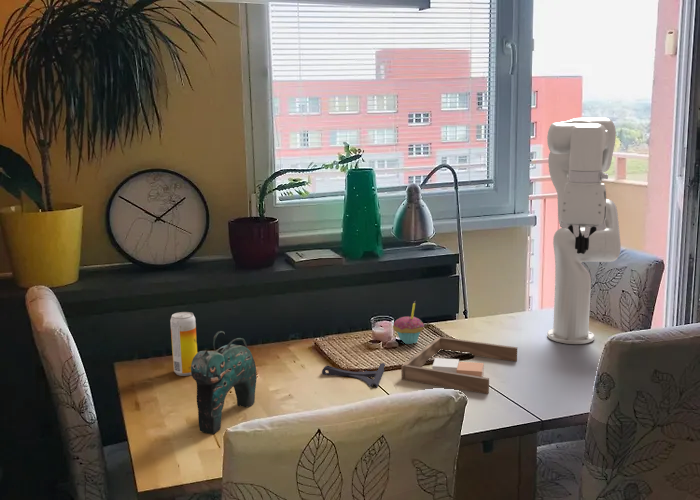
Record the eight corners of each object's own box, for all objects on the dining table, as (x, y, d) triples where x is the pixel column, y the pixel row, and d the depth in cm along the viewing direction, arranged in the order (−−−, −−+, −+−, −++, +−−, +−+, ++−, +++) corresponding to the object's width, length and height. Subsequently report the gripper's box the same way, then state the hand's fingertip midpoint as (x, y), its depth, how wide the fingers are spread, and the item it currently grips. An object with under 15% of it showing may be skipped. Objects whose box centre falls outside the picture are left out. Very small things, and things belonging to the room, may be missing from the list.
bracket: (328, 366, 194) (328, 356, 193) (385, 369, 191) (385, 358, 191) (316, 387, 180) (315, 376, 180) (377, 390, 177) (377, 379, 177)
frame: (438, 348, 204) (438, 336, 203) (517, 360, 194) (517, 347, 193) (401, 379, 182) (401, 365, 182) (487, 394, 172) (487, 379, 172)
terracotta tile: (459, 373, 187) (459, 361, 186) (483, 374, 185) (483, 363, 185) (456, 381, 181) (456, 369, 181) (481, 383, 180) (481, 371, 179)
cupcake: (428, 339, 212) (429, 298, 210) (414, 348, 205) (415, 305, 203) (402, 335, 217) (402, 294, 214) (387, 343, 210) (387, 301, 207)
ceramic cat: (213, 439, 152) (208, 344, 148) (186, 433, 154) (180, 340, 151) (262, 402, 170) (259, 317, 166) (238, 398, 172) (234, 314, 168)
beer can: (203, 369, 191) (199, 312, 188) (188, 378, 186) (184, 319, 183) (183, 366, 194) (180, 310, 191) (168, 374, 188) (164, 316, 185)
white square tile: (435, 369, 190) (435, 357, 189) (459, 370, 188) (459, 359, 188) (432, 377, 184) (432, 366, 183) (457, 379, 183) (457, 367, 182)
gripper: (620, 177, 180) (616, 252, 184) (556, 175, 187) (554, 247, 191) (615, 180, 174) (611, 258, 177) (549, 178, 181) (547, 253, 184)
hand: (581, 252), depth 184 cm, fingers closed
